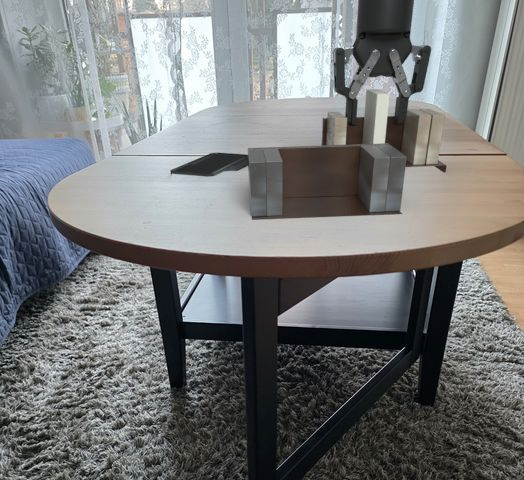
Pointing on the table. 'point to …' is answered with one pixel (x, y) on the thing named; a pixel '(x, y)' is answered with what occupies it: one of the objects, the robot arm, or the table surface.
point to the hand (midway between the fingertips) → (375, 124)
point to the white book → (375, 116)
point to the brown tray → (395, 135)
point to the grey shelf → (325, 181)
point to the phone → (212, 164)
